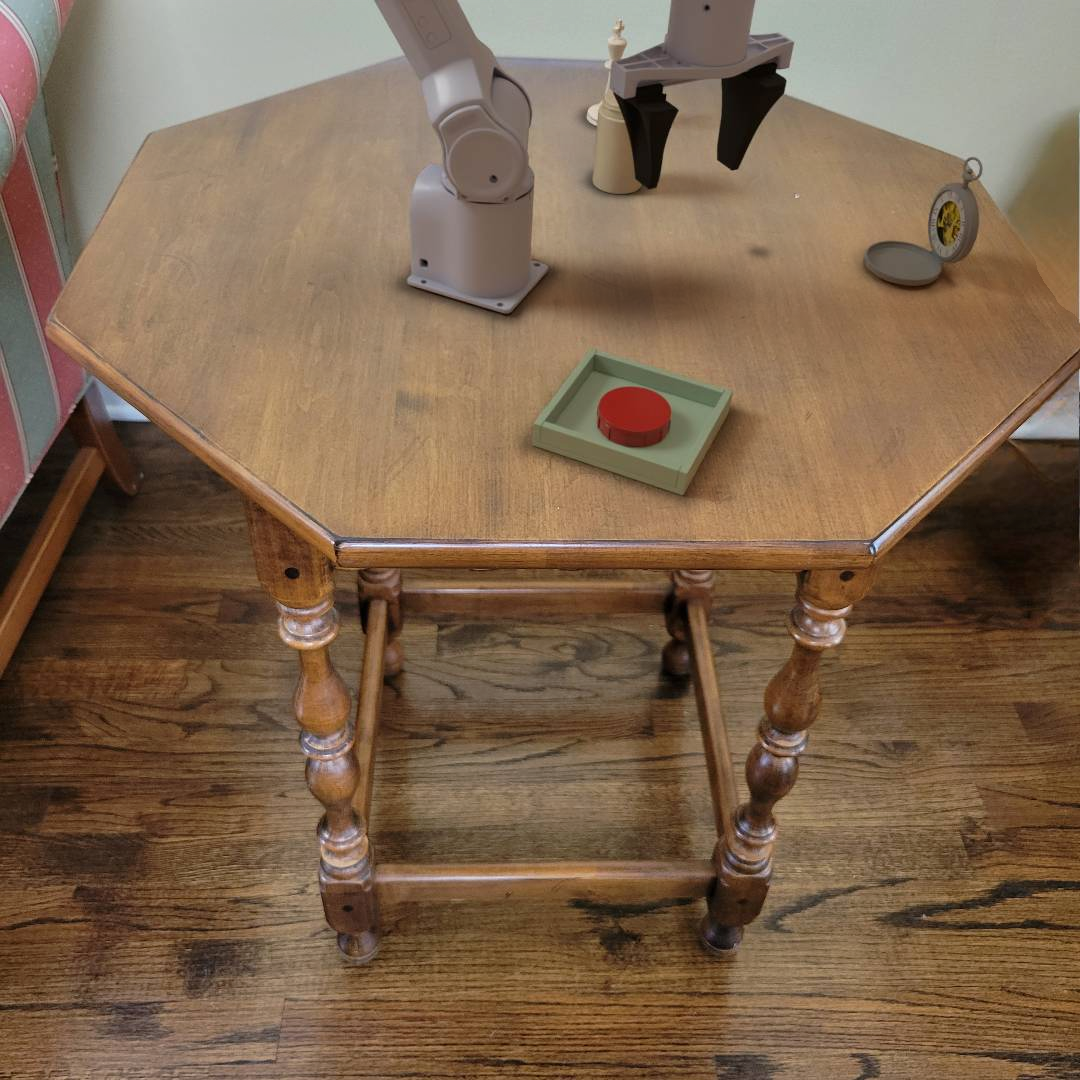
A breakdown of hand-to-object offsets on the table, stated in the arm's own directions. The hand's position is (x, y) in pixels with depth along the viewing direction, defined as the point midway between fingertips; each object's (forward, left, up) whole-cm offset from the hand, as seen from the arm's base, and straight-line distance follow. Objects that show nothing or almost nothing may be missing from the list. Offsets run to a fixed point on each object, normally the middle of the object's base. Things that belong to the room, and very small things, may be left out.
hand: (687, 173), depth 82 cm
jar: (-11, +16, -10) cm, 22 cm away
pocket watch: (+18, +14, -11) cm, 25 cm away
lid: (+4, -19, -9) cm, 21 cm away
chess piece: (-17, +29, -11) cm, 35 cm away
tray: (+4, -19, -10) cm, 22 cm away
